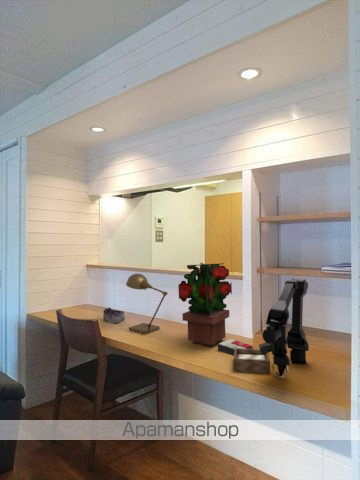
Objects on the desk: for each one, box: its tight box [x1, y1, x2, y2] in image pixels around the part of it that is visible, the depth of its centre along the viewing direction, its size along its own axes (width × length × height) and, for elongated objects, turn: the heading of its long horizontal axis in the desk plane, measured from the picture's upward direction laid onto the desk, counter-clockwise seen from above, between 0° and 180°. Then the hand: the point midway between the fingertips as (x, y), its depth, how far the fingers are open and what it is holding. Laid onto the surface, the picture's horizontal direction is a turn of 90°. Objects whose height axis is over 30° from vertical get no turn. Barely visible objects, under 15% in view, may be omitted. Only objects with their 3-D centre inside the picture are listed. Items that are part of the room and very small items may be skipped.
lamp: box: [125, 273, 169, 336], centre depth 213 cm, size 15×34×37 cm, turn 49°
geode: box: [102, 307, 126, 324], centre depth 242 cm, size 20×12×10 cm, turn 53°
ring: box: [271, 362, 290, 379], centre depth 141 cm, size 7×3×8 cm, turn 49°
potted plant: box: [178, 262, 233, 348], centre depth 188 cm, size 22×22×45 cm
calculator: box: [217, 338, 254, 356], centre depth 174 cm, size 11×4×15 cm
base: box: [232, 348, 271, 374], centre depth 154 cm, size 16×14×6 cm
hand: (280, 372), depth 141 cm, fingers open, 5 cm apart
